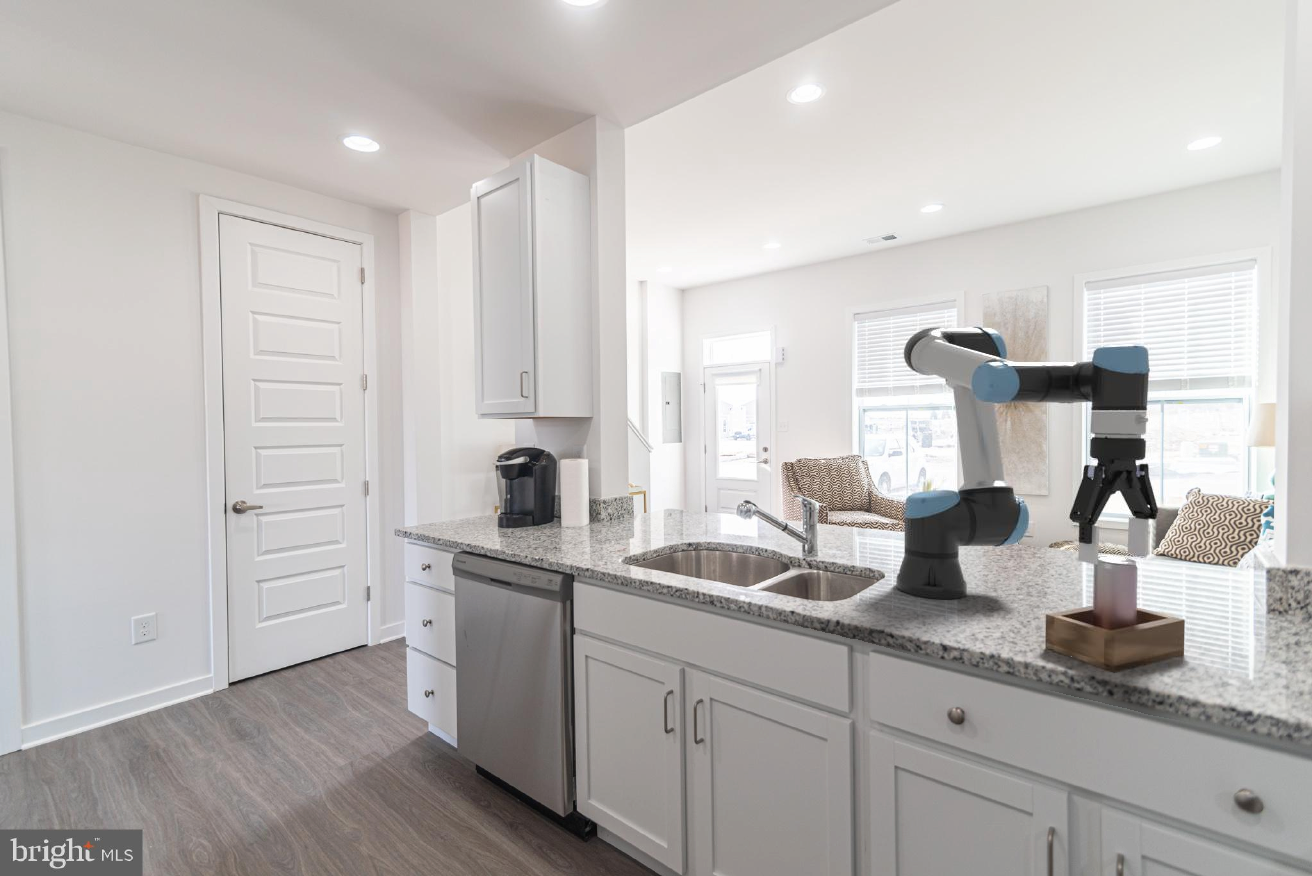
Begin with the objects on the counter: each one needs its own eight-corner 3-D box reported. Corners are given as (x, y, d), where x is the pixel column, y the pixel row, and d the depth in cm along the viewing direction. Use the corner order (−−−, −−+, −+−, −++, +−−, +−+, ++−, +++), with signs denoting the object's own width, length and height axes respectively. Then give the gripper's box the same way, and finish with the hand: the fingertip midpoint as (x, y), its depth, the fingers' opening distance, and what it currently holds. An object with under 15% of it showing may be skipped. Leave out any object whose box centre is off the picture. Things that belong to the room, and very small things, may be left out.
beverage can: (1089, 637, 106) (1090, 554, 106) (1131, 642, 103) (1132, 557, 103) (1096, 648, 101) (1097, 561, 100) (1140, 654, 98) (1141, 564, 97)
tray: (1045, 648, 103) (1045, 614, 103) (1113, 633, 111) (1113, 601, 110) (1114, 672, 93) (1114, 635, 93) (1184, 654, 100) (1184, 619, 100)
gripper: (1094, 438, 93) (1089, 571, 94) (1186, 435, 102) (1181, 556, 103) (1047, 436, 100) (1043, 560, 101) (1137, 434, 109) (1133, 547, 110)
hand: (1113, 558), depth 102 cm, fingers open, 13 cm apart
